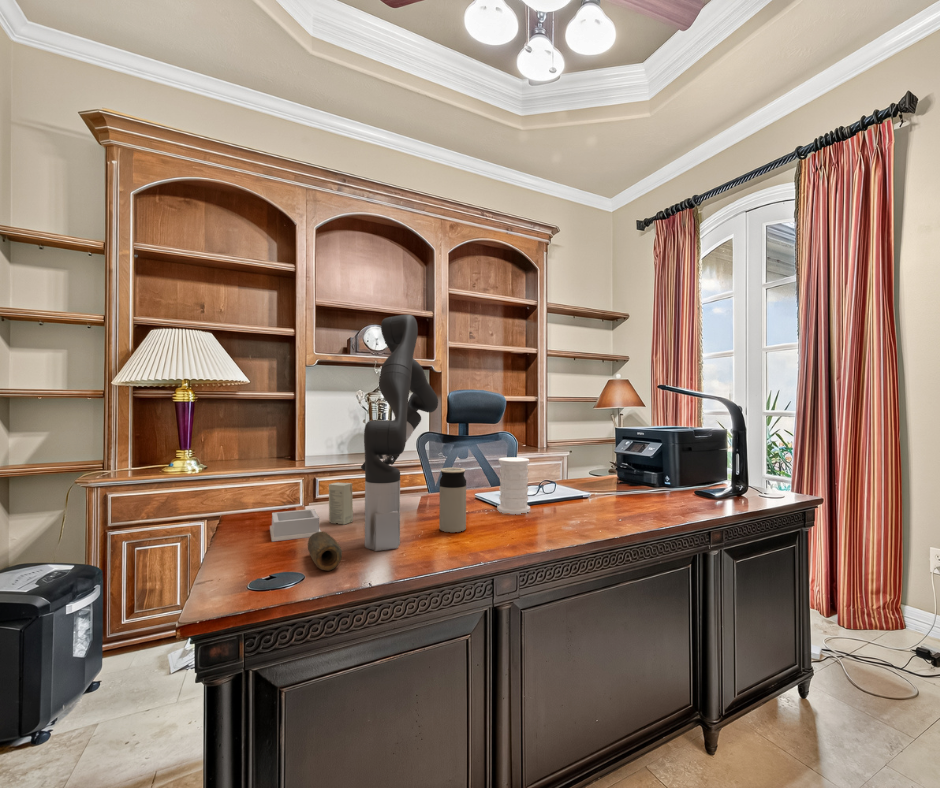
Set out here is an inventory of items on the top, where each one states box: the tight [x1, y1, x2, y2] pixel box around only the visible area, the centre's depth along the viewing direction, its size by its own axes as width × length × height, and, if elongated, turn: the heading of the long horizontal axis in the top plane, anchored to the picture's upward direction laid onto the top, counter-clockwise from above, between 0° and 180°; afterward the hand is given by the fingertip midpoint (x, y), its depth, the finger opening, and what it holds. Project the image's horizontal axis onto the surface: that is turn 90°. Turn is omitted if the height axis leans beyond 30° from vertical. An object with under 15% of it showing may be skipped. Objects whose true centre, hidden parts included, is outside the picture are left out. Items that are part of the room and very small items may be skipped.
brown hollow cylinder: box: [307, 531, 343, 572], centre depth 110 cm, size 15×7×7 cm, turn 30°
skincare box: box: [328, 481, 354, 525], centre depth 146 cm, size 6×4×12 cm
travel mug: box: [438, 467, 467, 534], centre depth 139 cm, size 8×8×18 cm
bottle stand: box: [269, 508, 322, 542], centre depth 135 cm, size 13×13×5 cm
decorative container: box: [496, 456, 531, 515], centre depth 163 cm, size 12×12×18 cm
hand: (369, 470), depth 154 cm, fingers open, 8 cm apart
